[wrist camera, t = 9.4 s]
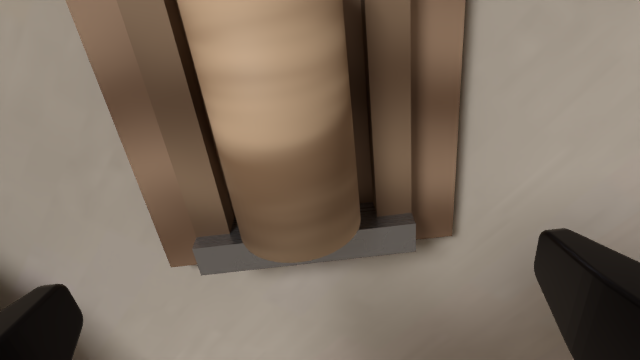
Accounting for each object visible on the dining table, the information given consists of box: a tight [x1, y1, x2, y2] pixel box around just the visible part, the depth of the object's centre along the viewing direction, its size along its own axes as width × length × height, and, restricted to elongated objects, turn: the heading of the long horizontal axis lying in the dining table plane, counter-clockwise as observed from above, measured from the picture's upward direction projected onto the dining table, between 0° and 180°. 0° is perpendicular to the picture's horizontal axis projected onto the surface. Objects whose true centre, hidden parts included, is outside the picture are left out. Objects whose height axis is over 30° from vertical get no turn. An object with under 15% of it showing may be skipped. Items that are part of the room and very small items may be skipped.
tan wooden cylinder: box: [177, 0, 361, 263], centre depth 14 cm, size 9×5×5 cm, turn 7°
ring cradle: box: [66, 0, 465, 275], centre depth 16 cm, size 16×14×3 cm
